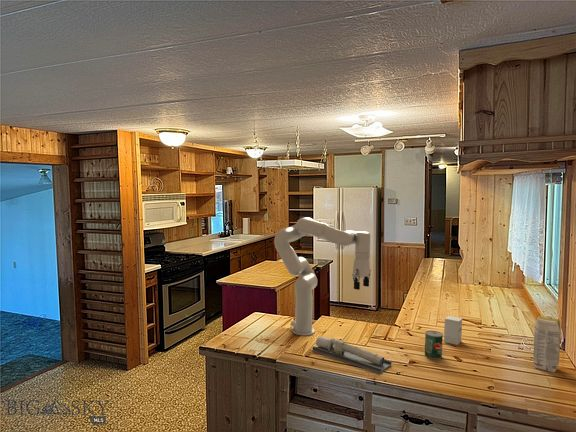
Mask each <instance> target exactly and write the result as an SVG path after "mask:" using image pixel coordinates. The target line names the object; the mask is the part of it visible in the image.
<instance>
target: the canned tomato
mask: <svg viewBox="0 0 576 432" xmlns="http://www.w3.org/2000/svg"><path fill="white" fill-rule="evenodd" d="M424 338H425V340H424V357H426V358H428V359H431V360H441V359H442V357H443V342H444V333H442V332H440V331H437V330H426V331H425V336H424Z"/></svg>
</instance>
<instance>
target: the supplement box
mask: <svg viewBox="0 0 576 432" xmlns="http://www.w3.org/2000/svg"><path fill="white" fill-rule="evenodd" d="M443 330H444V331H443V342H444V343H447V344H450V345H451V344H452V345H456V346H458V345H459V344H460V343H461V342H462V332H463V318H462V317H458V316H457V317H456V316H453V315H452V316H451V315H447V317H445V318H444V329H443Z"/></svg>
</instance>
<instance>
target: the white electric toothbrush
mask: <svg viewBox="0 0 576 432" xmlns="http://www.w3.org/2000/svg"><path fill="white" fill-rule="evenodd" d="M335 340H336V342H335V344H334V345H333V352H335V353H336V354H340V355H344V352H345V351H348V352H350V353H352V354H355V355H357V356H359V357H361V358H364V359H366V360H368V361H370V362H372V363H373V364H377V365H379V366H382V365H383V363H384V360H385V357H383V356H381V355H380V354H378V353H374V352H370V351H369V350H366V349H362V348H359V347H356V346H355V345H351V344H348V343H346V342H345V341H344V340H342V339H335Z"/></svg>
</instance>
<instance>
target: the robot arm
mask: <svg viewBox="0 0 576 432" xmlns="http://www.w3.org/2000/svg"><path fill="white" fill-rule="evenodd" d="M306 235H307V236H310V237H315V238H318V239H321V240H324V241H327V242H328V243H332V244H336V245H339V246H342V247H347V246H348V247H349V246H351V245H355V246H354V249H355V250H354V260H353V268H352V279H353V281H352V282H353V289H354V290H357V291H360V288H361V281H360V280H361V279H362V278H363V279H362V286H364V287H368V288H369V287H370V277H371V272H372V271H371V268H370V267H371V266H370V265H371V264H370V259H371V258H370V256H371V233H370V232H368V231H355V230H349V229H348V230H345V231H344V230H340V229H337V228H334V227H331V226H329V225H328V223H326V222H321V221H318V220H314V219H313V218H311V217H300V218H299V219H297V221H296V223H295V224H293V225H291V226H288V227H283V228H281V229H279V230H278V231H277V232H276V234H275V236H274V240H273V242H274V247H275V250H276V251H277V253H278V254H279V257H280V258H281V260H282V262H283V264H284V266H285V268H286V269H287V272H288V273H289V275H291V276H298V278H297V279H296V280H295V282H294V293H295V310H294V311H295V313H294V314H295V315H294V317H295V319H294V321H293V320H292V321H290V325H289V326H292V327H293V328H292V331H291V332H292V333H293V334H295V335H298V336H312V335H314V334H315V333H316V330H315V328H313V302H314V301H313V299H314V298H313V291H312V290H314V289H315V288H316V287H317V286H318V278H317V276H316V273H315V271H314V270H313V268H312V266H311V264H310V263H309V262H308V260H307V259H306V258H305V257H303V256H298V255H297V253H296V251H295V250H294V248H293V247H292V246H291V245H290V243H291V242H296V241H297V240H299V239H301V238H302V237H304V236H306Z"/></svg>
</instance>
